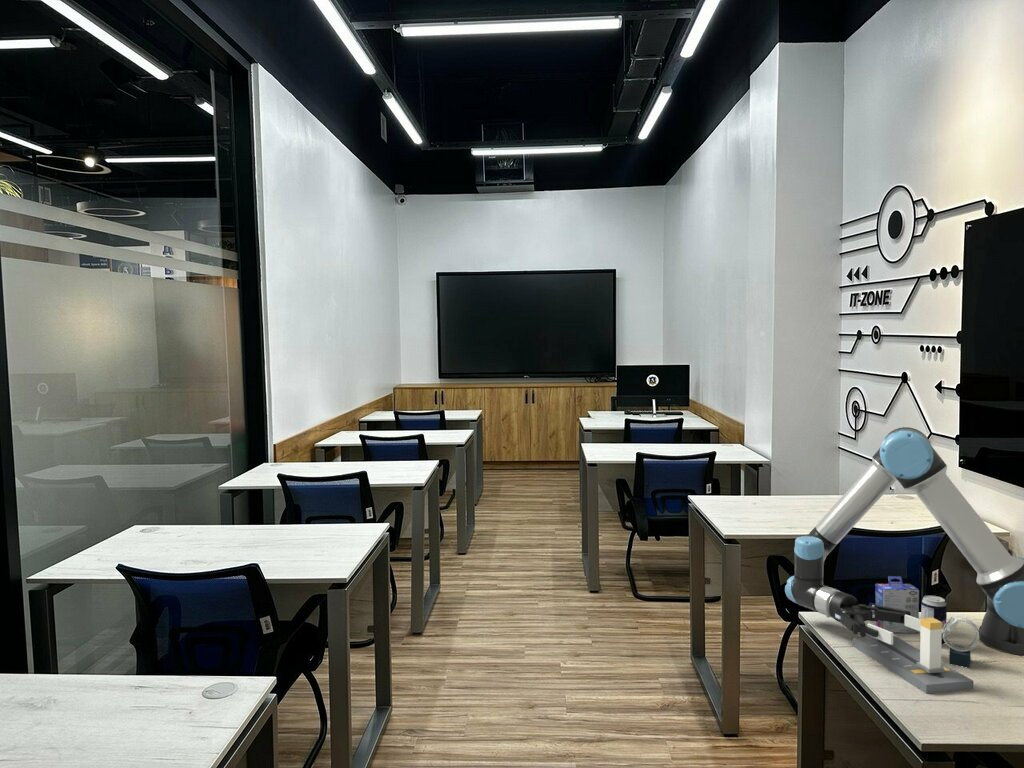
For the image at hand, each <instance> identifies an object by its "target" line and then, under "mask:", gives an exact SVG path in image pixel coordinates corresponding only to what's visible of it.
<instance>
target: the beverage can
mask: <svg viewBox="0 0 1024 768" xmlns="http://www.w3.org/2000/svg"><path fill="white" fill-rule="evenodd" d="M947 608H948V607H947V603H946V599H945V598H944V597H941V596H936V595H928V594H927V595H924V596H923V598H922V600H921V614H920V618H930V617H932V618H934V619H936V620H939V621H941V622H942V628H943V627H944V625H945V624H946V623H947V618H948V617H947V613H948V610H947ZM945 644H946V643H945V641H944V639H943V634H942V639H941V647H943V646H944V645H945Z"/></svg>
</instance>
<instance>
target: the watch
mask: <svg viewBox="0 0 1024 768" xmlns="http://www.w3.org/2000/svg"><path fill="white" fill-rule="evenodd" d="M960 622H963V623H966V624H969V626H971V627H972V628H973V629H974V630H975V631H976V633H975V636H974V639H972V642H971V643H969V644H968V646H964V645H963V646H962V645H958V644H954V643H953V644H952V643H951V641H949V640H948V638H947V636H949V635H951V634H952V632H953V631H954V630H955V628H956V627H957V625H958V623H960ZM978 630H979V627H978V626H977V625H976V624H975V623H974V622H973V621H972V620H971V619H968V618H965V617H963V616H955V617H953V616H951V617H950V618H949V619H948V620H946V624H945V625H944V627H943V628H942V634H943V639H944V641H945V644H946V646H948V648H949V654H948V660H949V663H948V664H949V665H951V664H952V666H956V665H958V666H957V667H961V666H963V667H962V668H965V667H967V668H966V669H971V658H972V657H971V656H972V655H971V653H972V652H971V651H972V650H973V649H975V647H976V646H977V645H978V643H979V641H980V640H979V638H980V636H979V631H978Z"/></svg>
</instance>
